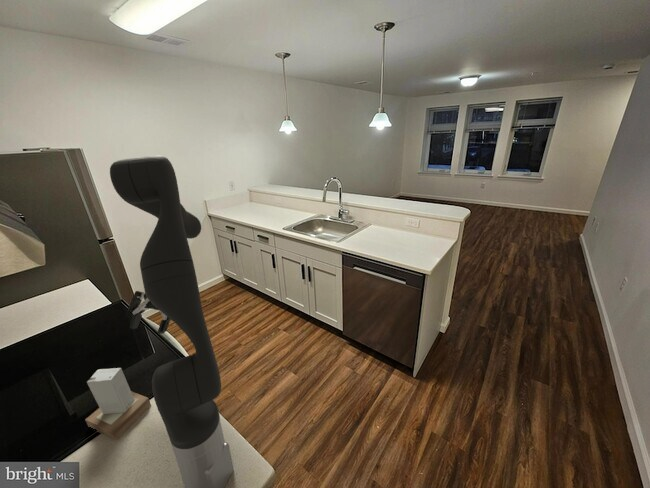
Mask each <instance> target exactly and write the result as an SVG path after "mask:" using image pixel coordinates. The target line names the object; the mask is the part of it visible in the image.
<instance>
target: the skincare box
mask: <svg viewBox="0 0 650 488" xmlns="http://www.w3.org/2000/svg"><path fill="white" fill-rule="evenodd" d="M86 383H87V385H88V387H89V389H90V391H91V393H92V396H93V398H94V399H95V402H96V404H97V406H98V408H100V409H101V411H102V413H103V414H110V413H124V412H126V411H127V410H128V408H129V407H130V405H131V404H132V402H133V400H134V398H133V395H132V393H131V391H132V390H131V388H130V386H129V383H128V382H127V379H126V376H125V374H124V372H123V368H122V367H117V368H116V367H113V368H100V369H97V370H96V371H95V372H94V373H93V374H92V376H91V377H90V378H89V379H88V380H87V381H86Z"/></svg>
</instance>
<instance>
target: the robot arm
mask: <svg viewBox="0 0 650 488" xmlns="http://www.w3.org/2000/svg"><path fill="white" fill-rule="evenodd" d="M109 175H110V181H111V184H112V186H113V188H114V190H115V192H116V193H117V195H118V196H119V197H120V198H121V199H122V200H123V201H124V202H126V203H127V204H129V205H131V206H133V207H135V208H138V209H140V210H141V211H143V212H145V213H148V214H150V215H152V216H154V217H155V218H157V223H156V224H155V227H154V228H153V231H152V233H151V235H150V236H149V239H148V240H147V243H146V244H145V246H144V249H143V251H142V253H141V254H142V255H141V256H140V260H139V269H140V274H141V279H142V284H143V290H144V292H143V291H139V290H136V291H135V292H134V293H133V296H132V298H131V301H130V302H129V306H128V308H127V311H128V312H130V313H132V317H131V320H130V323H129V328H130V329H133V330H134V329H135V330H136V329H138V327H139V325H140V321H141V319H142V315H143V314H144V313H145V312H146V311H149V310H157V311H159V313H160V314H161V317H162V319H161V321H160V324H159V327H158V330H157V334H159V335H161V334H163V335H164V334H165V333H166V332H167V331H168V328H169V325H170V322H171V321H173V323H174V324H175V325H176V326H178V327H179V329H181V330H182V332H183V333H184V334H185V335H186V336H187V337H188V339H189V340H190V342H191V343H192V345H193V347H194V350H195V352H194V353H193V354H190V355H186V356H184V357H181V358H178V359H176V360H172V361H169V362H168V363H164V364H162V365H160V366H158V367H157V368H156V369H155V370H154V372H153V374H152V380H151V387H152V388H151V389H152V395H153V399H154V402H155V404H156V408H157V410H158V413H159V415H160V417H161V419H162V421H163V424H164V426H165V430H166V432H167V435H168V436H167V437H168V438H169V441H170V444H171V447H172V450H173V454H174V457H175V460H176V464H177V467H178V469H179V473H180V476H181V479H182V483H183V486H184V488H225V487H226V485H227V483H228V482H229V479H230V477H231V475H232V474H233V473H234V465H233V459H232V455H231V450H230V443H229V442H226V440H225V437H224V433H223V426H222V423H221V417H220V413H219V412H220V411H219V408H218V405H217V402H216V401H214V400H215V399H216V398H218V397H219V396H220V394H221V391H222V380H221V373H220V370H219V366H218V362H217V358H216V355H215V351H214V347H213V344H212V340H211V337H210V335H209V330H208V327H207V322H206V319H205V315H204V310H203V305H202V299H201V294H200V289H199V284H198V279H197V274H196V273H197V272H196V269H195V264H194V260H193V257H192V252H191V248H190V244H189V241H188V239H192V240H193V239H194V238H198V236H200V233H201V232H202V224H201V221H200V220H199V218H198V217H197V216H196V215H194V214H192V213H191V212H189V211H187V210H186V208H185V207H184V205H182V203H181V199H180V190H179V185H178V180H177V176H176V171H175V169H174V167H173V164H172V163H171V161H170V160H169V158H167V157H166V156H164V155H150V156H139V157H133V158H132V157H130V158H124V159H120V160H117V161H114V162H113V163H112V164H111V165H110V167H109Z"/></svg>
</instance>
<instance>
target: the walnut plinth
mask: <svg viewBox="0 0 650 488" xmlns="http://www.w3.org/2000/svg"><path fill="white" fill-rule="evenodd" d="M131 393H132V395H133V398H134V400H133V402H132V404H131V405H130V407H129V408H128V410H127V411H126V412H124V413H110V414H103V413H102V411H101V409H100V407H98V408H96V410H95V411H94V412H92V413H91V414H90V415H89V416H88V417H86V418H85V419H84V420H85V422H86V425H87V427H88V428H89V427H91V428H93V429H96V430H97V431H96V432H98V433H99V434H102V435H104V436H106V437H109V438H110V439H113V440H114V441H116V440H118V439H119V438H120V436H121V435H123V433H125V431H127V430H128V429H129V428H130V427H131V426H132V425H133V424H134V423H135V422H136V421H137V420H138V419H139V418H140V416H142V415H143V414H144V413H145V412H146V411H147V410H148V409H149V408H150V407H151V406H152V404H151V402H150V398H149V397H147V396H144V395H142V394H139V393H136V392H134V391H132V390H131ZM91 428H90V429H91ZM93 429H92V430H93Z"/></svg>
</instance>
